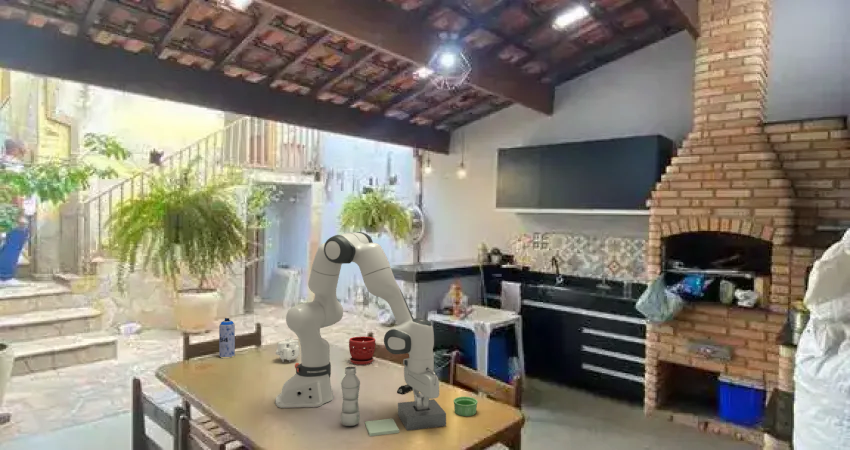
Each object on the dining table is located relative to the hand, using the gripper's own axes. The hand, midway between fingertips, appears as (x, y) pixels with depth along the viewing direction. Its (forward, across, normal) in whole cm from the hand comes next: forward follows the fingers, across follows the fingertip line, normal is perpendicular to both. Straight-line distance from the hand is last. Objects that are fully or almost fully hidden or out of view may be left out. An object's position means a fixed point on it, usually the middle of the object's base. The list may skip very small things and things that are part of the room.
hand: (421, 403), depth 180 cm
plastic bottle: (+6, +8, +24) cm, 26 cm away
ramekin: (+7, -1, -18) cm, 19 cm away
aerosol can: (+7, +120, +50) cm, 130 cm away
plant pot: (+7, +77, -8) cm, 78 cm away
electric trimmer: (+7, +31, -12) cm, 34 cm away
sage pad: (+6, 0, +15) cm, 17 cm away
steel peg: (+6, 0, 0) cm, 6 cm away
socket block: (+6, 0, 0) cm, 6 cm away
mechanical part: (+7, +97, +24) cm, 100 cm away
